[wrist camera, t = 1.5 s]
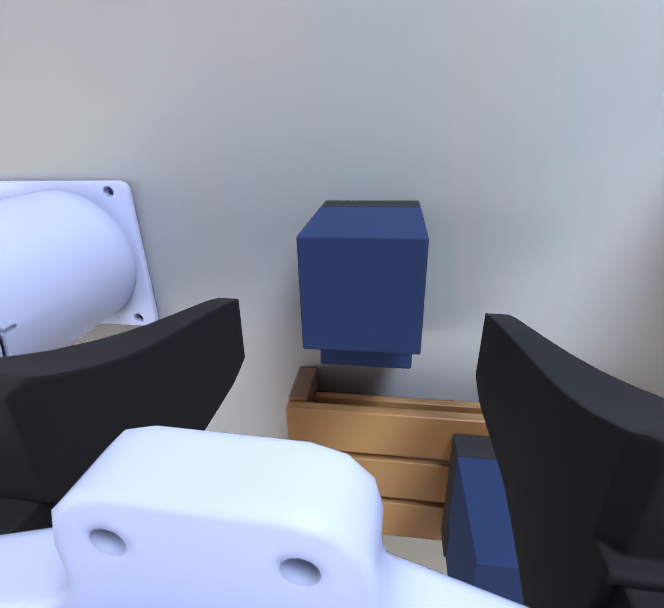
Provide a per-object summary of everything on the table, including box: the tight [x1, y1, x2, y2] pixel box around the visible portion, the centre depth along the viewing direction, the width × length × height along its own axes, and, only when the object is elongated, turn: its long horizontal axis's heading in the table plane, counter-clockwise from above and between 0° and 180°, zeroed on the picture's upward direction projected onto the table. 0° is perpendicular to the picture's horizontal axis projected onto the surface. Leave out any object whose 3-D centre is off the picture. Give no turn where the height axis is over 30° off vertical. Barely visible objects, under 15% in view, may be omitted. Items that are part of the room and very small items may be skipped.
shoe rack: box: [286, 367, 489, 541], centre depth 23 cm, size 14×9×4 cm, turn 92°
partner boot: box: [441, 434, 524, 605], centre depth 18 cm, size 7×4×6 cm, turn 2°
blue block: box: [297, 201, 429, 369], centre depth 18 cm, size 7×4×6 cm, turn 2°
